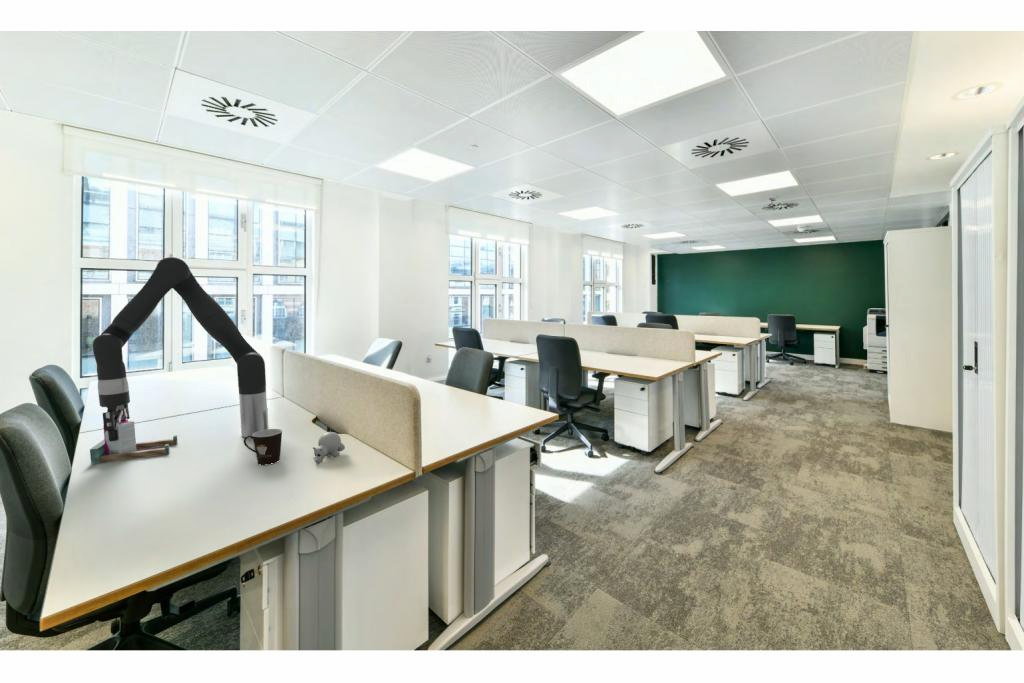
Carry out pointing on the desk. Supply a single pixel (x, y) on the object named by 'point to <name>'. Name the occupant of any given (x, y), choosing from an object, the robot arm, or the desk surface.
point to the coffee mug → (266, 445)
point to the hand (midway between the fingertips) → (118, 437)
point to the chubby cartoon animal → (328, 446)
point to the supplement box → (121, 439)
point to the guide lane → (100, 455)
